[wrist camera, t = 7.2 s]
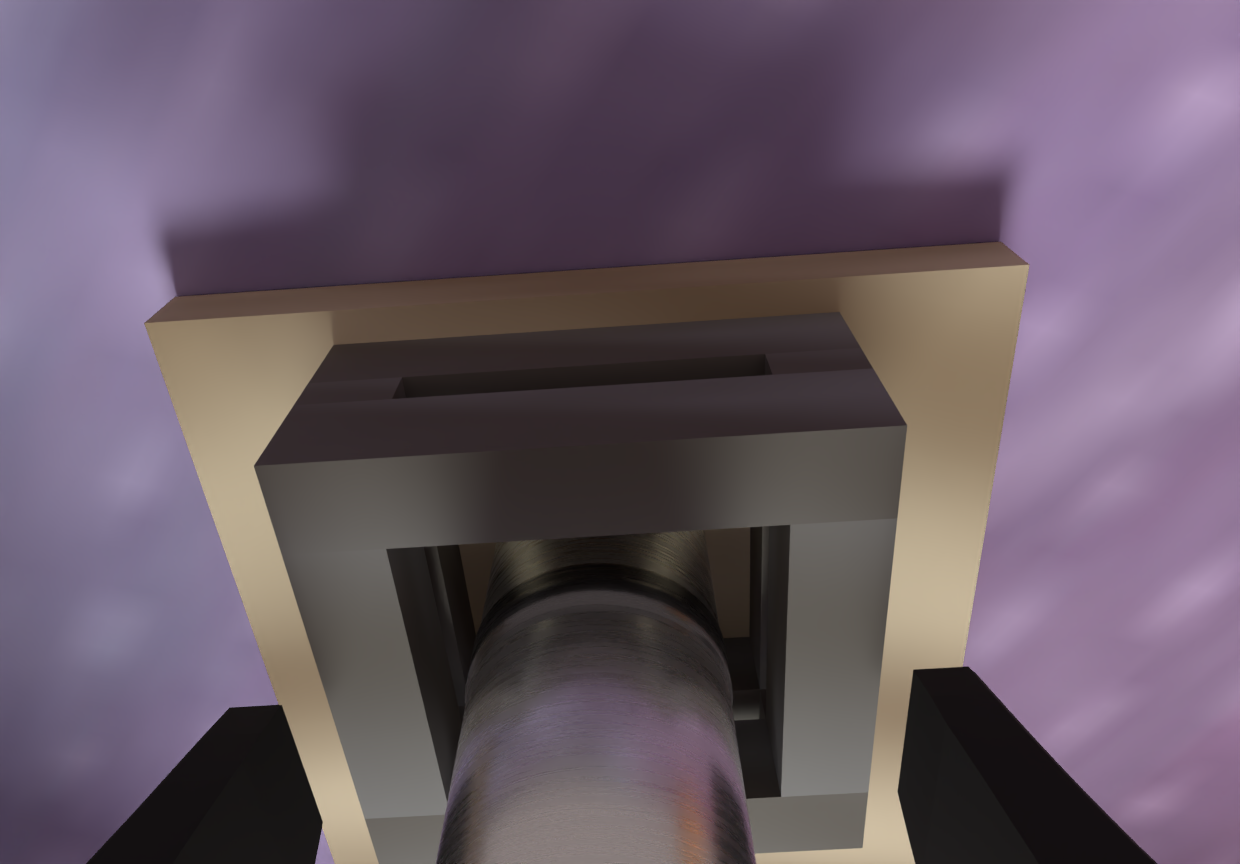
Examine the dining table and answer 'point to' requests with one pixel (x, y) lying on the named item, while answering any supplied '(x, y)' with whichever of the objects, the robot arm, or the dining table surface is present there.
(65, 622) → the dining table surface
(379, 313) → the wooden board with holder
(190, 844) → the robot arm
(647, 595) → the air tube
